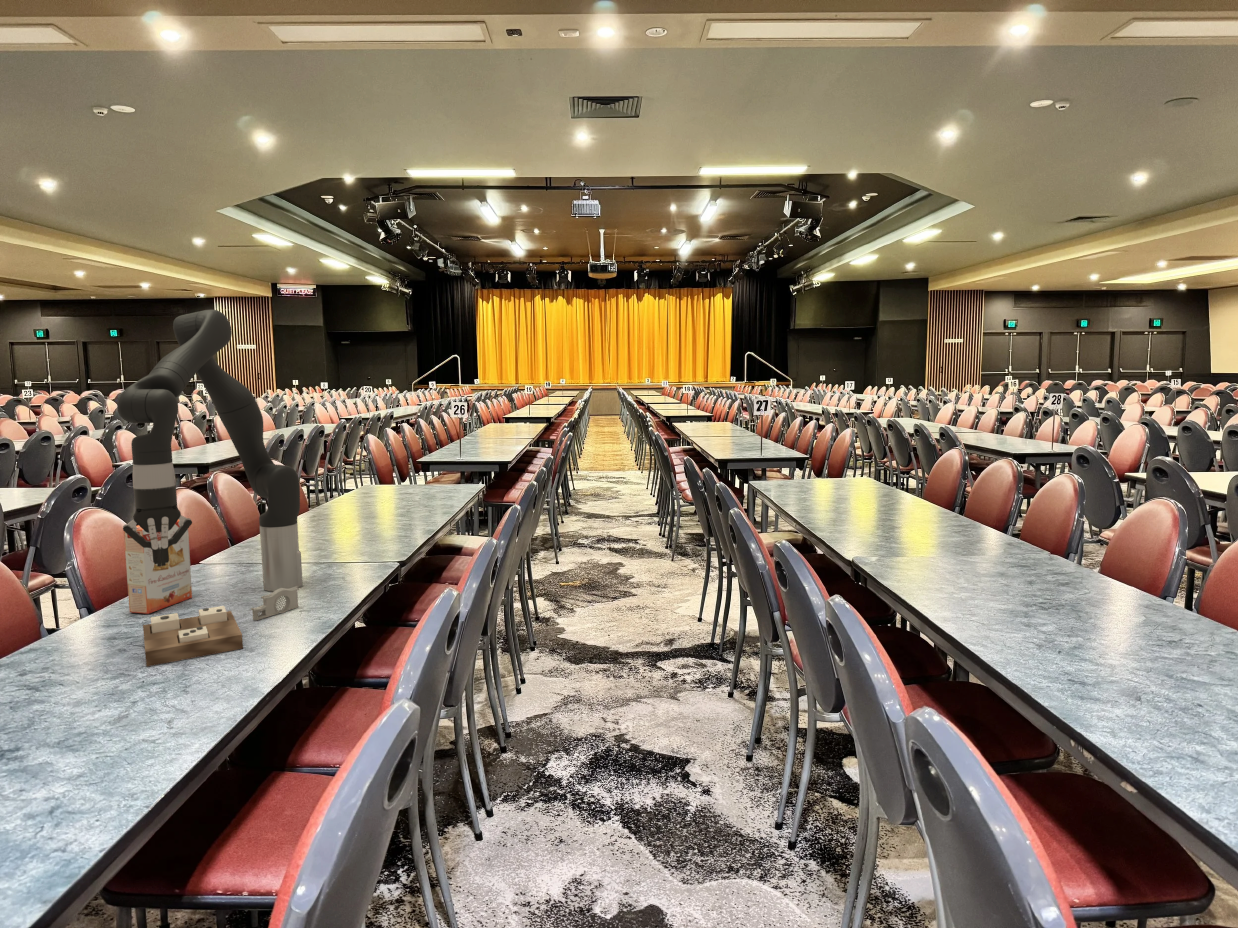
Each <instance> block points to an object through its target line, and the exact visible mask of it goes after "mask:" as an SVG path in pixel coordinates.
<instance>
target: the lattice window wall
mask: <svg viewBox="0 0 1238 928" xmlns="http://www.w3.org/2000/svg"><path fill="white" fill-rule="evenodd" d="M299 589H300V587H297V586H296V587H293V588H291V589H285V588H280V589H277V590H276V591H271V593H269V594H265V595H262V596H261V599H263V600H262V605H260V606H257V607H251V608H250V610H251V611H252V621H260V620H263V619H267V618H268V617H272V616H275V615H278V614H283V613H286V612H288V611H290V610H294V609H297V608H299V597H298V596H299V595H298V594H299V593H298V590H299Z"/></svg>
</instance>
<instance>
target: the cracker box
mask: <svg viewBox="0 0 1238 928" xmlns="http://www.w3.org/2000/svg"><path fill="white" fill-rule="evenodd" d="M178 523H179V519H178V521H177V522H176V523H175V525H174V526H173V528H172V529H171V530H169V531H168V539H170V538H171V537H172V536H173V535H174V534H175V532H176V531H177V530H178V528H179V527H180V526H179V524H178ZM136 527H137V531H136V532H138V533H139V534H140V535H141V536H142V537H143V538H144V539H146V540H147V541H151V540H150V534H149V533H147V532H145V531H144V530H143V529H142V528H141V527H140V526H139V525H138V524H137V525H136ZM156 534H157V540H158V544H159V547H161V532H157V533H156ZM189 537H190V536H189V528H188V529H187V531H186V532H185V533H184V535H183V536H182V537H181V539H180V540H179V541H178V542H177V544H173V545H171V546H170V547H169V548H168V553H169V562H168V563H166V566H158V565H157V564H154V562H153V553H152V549H151V548H143V547H142V546H141V545H140V544H138V543H137V542H136V541H135V540H134V539H133V538H131V537H130V536H129V535H128V534H127V533H126V532H124V531H123V538H124V550H125V551H124V552H125V555H124V556H125V567H126V580H127V581H126V582H127V594H128V609H129V613H133V614H144V615H149V614H152V613H154V612H157V611H161V610H163V609H165V608H167V607H168V608H169V607H171V606H174V605H176V604H179V603H182V602H185V601H186V600H190V599H192V598H193V589H192V587H193V586H192V574H191V573H192V572H191V557H190V555H191V554H190V553H191V552H190V541H189V540H190V539H189ZM160 553H161V552H160ZM161 565H162V564H161Z"/></svg>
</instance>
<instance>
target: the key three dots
mask: <svg viewBox="0 0 1238 928" xmlns="http://www.w3.org/2000/svg"><path fill="white" fill-rule="evenodd" d="M178 634H179V643H183V642H189V641H195V640H200V639H206V638H208V631H207V628H206V626H204V627H197V628H192V629H186V630H181V631H178Z"/></svg>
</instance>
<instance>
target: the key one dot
mask: <svg viewBox="0 0 1238 928" xmlns="http://www.w3.org/2000/svg"><path fill="white" fill-rule="evenodd" d="M179 619H180V617H179V614H178V612H176V613H170V614H163V615H157V616H156V615H155V616H151V617H150V624H151V627H152V633H157V632H163V631H169V630H175V629H180V624H179Z"/></svg>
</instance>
